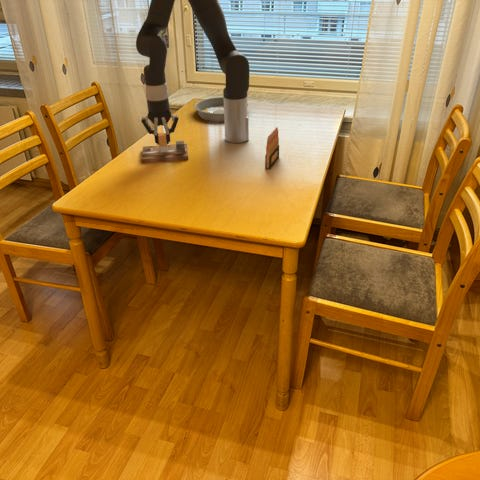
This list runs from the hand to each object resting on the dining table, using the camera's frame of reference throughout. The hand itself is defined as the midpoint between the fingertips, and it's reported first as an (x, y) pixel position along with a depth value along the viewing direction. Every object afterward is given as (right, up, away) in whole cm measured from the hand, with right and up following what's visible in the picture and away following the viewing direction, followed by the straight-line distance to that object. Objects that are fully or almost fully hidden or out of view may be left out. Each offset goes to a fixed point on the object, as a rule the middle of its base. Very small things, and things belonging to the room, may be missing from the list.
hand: (163, 143), depth 168 cm
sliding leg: (0, -2, +4) cm, 4 cm away
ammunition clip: (+40, -8, -3) cm, 41 cm away
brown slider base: (0, -3, +5) cm, 6 cm away
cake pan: (+20, +22, +43) cm, 53 cm away
